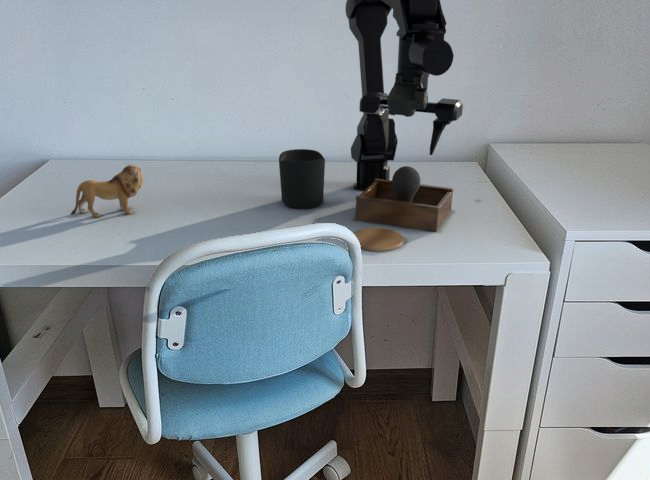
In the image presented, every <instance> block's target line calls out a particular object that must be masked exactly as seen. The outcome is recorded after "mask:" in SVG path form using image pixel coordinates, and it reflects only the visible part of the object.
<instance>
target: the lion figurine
mask: <svg viewBox="0 0 650 480" xmlns="http://www.w3.org/2000/svg"><path fill="white" fill-rule="evenodd" d="M143 183H144V178H143V174H142V168H141V167H140V166H137V165H135V164H127V165H126V166H124V167H123V168H122V170H121V171H120V172H119V173H117V174H115V175H114V176H113V177H112V178H111V179H110V180H107V181H98V180H93V179H89V180H88V179H87V180H84V181H82V182H81V183H80V184H79V185H78V187H77V189H76V195H75V205H74V208H73V210H71V212H70V216H72V215H76V214H77V211H78V212H79V213H81V214H83V213H86V212H87V210H88V212H89V213H90V214H91V216H92V217H94V218H99V217H100V213H99V212H96V211H95V210H94V204H95V199H96V197H97V198H99V199H102V200H106V201H113V200H118V203H119V208H120V210H122V211H123V212H124V213H125V214H126V215H131V214H132V210H130V209H129V199H130V198H134V197H136V195H137V194H138V191H139V190H140V189H141V188H142V186H143ZM81 193H82V195H81ZM86 203H87V209H86V208H83V207H84V205H85V204H86Z"/></svg>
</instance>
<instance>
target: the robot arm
mask: <svg viewBox="0 0 650 480" xmlns="http://www.w3.org/2000/svg"><path fill="white" fill-rule="evenodd" d="M441 3H442V2H441V0H346V2H345V15H346V18H347V21H348V28H349V30H350V32H351V33H352V35H353V36H354V38H355V39H356V41H357V45H358V46H357V47H358V59H359V71H360V85H361V86H360V88H361V97H360V100H359V112H360V113H362V114H363V115H362V116H361V118H360V121H359V122H358V124H357V126H356V136H355V138H354V140H353V142H352V144H351V146H350V157H351V159H352V160H353V161H355V162H356V180H355V182H356V183H355V184H354V185H353V189H355V190H363V191H364V190H366V189H367V188H368V187H369V186H370V185H371V184H372V183H373V182H374V180H375V179H384V180H390V168H391V167H390V166H389V161H391V162H392V161H394V160H395V157H396V153H397V152H396V151H397V147H398V140H399V139H398V136H397V133H396V122H395V119H394V118H391V117H390V116H403V117H407V118H409V117H413V116H414V115H415V113H417V112H418V113H425V114H435V115H434V116H436V118H435V119H434V120H433V121H432V133H431V140H430V145H429V156H433V155H434V152H435V150H436V148H437V145H438V143H439V141H440V139H441V136H442V134H443V132H444V130H445V128H446V126H448V125H450V124H451V123H452V122H457V120H459V119H460V117H462V116H463V110H464V109H463V108H464V105H463V102H462V101H461V99H455V98H445V97H444V98H441V99H440V100H439V101H437V102H430V101H429V93H428V87H429V77H430V75H431V76H435V77H437V76H439V77H440V76H441V75H444V74H445V73H447V72H448V71H449V70H450V68H451V67H452V64H453V62H454V57H455V55H454V52H453V48H452V46H451V45H450V43H449V42H448V41H446V40H445V35H446V34H447V28H446V25H447V20H446V18H445V14H444V11H443V8H442V4H441ZM391 11H392V18H393V19H394V20H395V22H396V24H397V27H398V30H397V31H396V36H397V37H398V51H397V52H398V53H397V71H396V73H395V78H394V84H393V86H392V88H391V89H390V91H389V93H386V92H385V83H384V68H383V54H382V53H383V52H382V37H383V34H384V32H385V30H386V28H387V26H388V16H389V14H390V13H391Z"/></svg>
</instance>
